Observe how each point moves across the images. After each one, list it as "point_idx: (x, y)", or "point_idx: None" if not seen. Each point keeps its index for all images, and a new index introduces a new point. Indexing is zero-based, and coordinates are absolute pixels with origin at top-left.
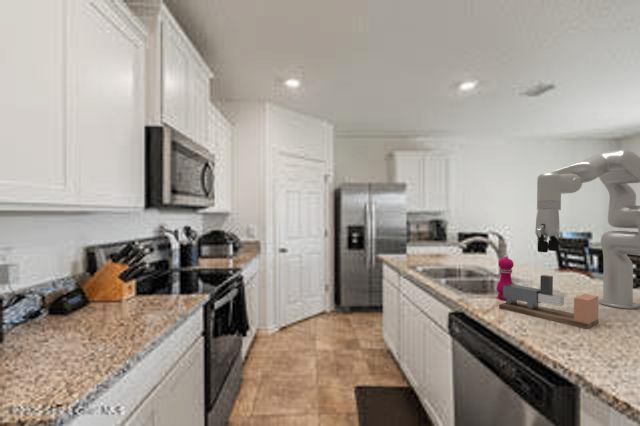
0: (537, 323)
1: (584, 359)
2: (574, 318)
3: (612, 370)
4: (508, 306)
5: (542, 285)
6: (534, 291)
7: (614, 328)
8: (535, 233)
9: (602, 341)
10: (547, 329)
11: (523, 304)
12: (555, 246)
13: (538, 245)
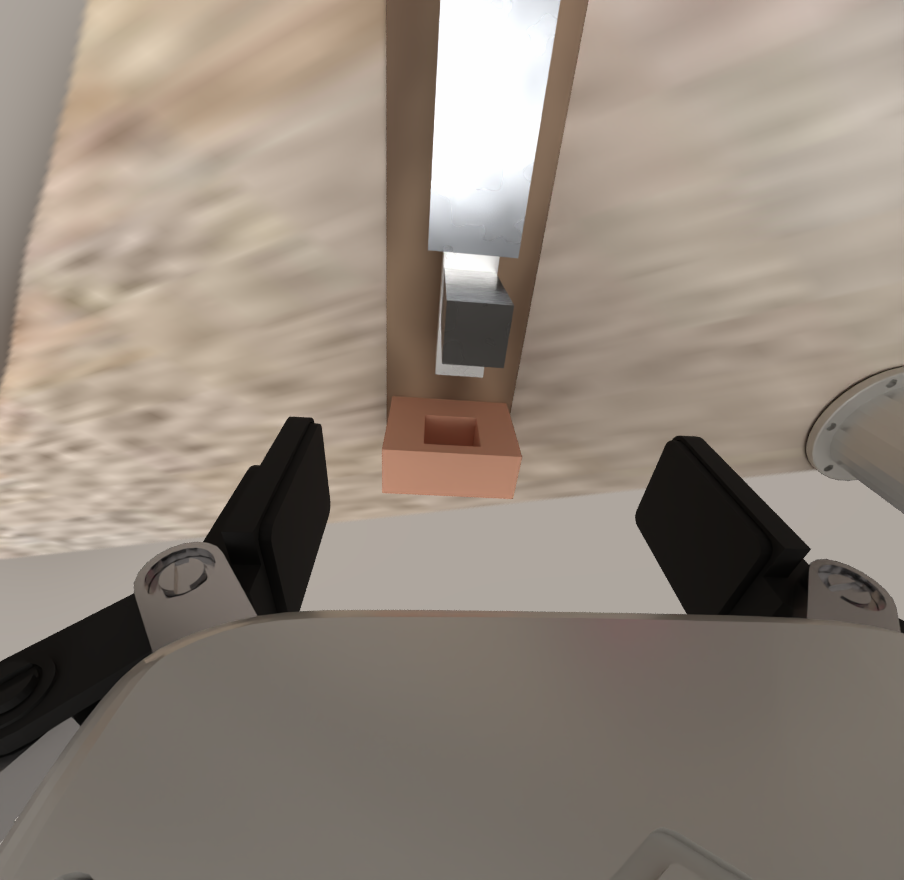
0: (286, 286)
1: (89, 477)
2: (392, 402)
3: (94, 521)
4: (389, 54)
5: (444, 295)
6: (429, 236)
7: None
8: (140, 670)
9: None
10: (245, 340)
11: None
12: (665, 544)
13: (257, 481)
